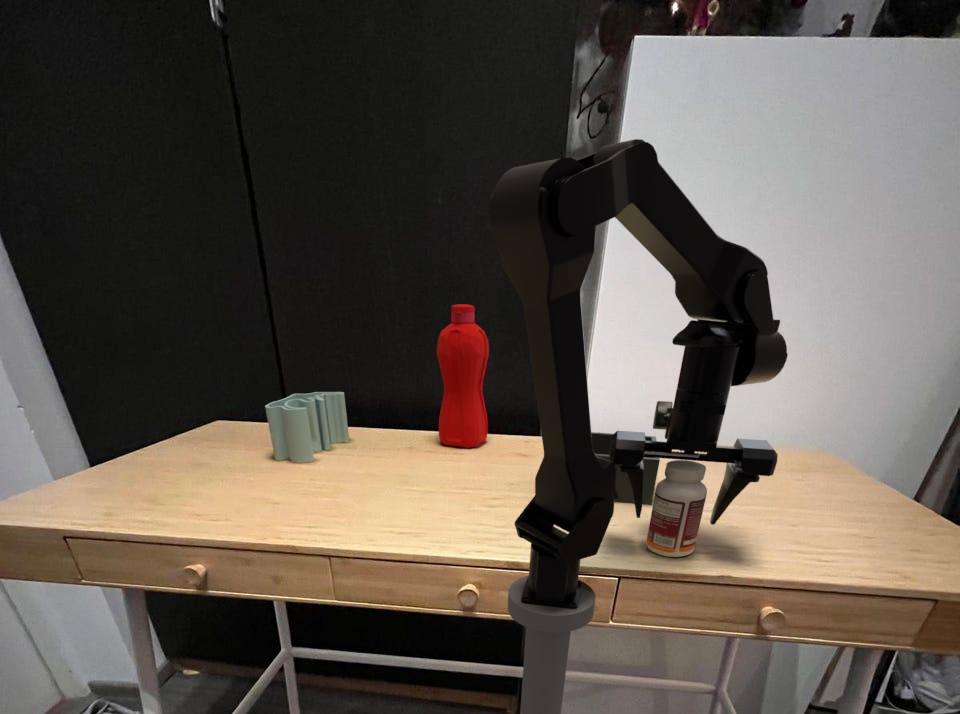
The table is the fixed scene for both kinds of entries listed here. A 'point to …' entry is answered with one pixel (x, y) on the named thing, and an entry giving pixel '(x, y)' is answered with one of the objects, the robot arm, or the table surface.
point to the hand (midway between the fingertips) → (674, 520)
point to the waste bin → (622, 483)
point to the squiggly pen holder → (306, 424)
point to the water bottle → (463, 379)
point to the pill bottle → (677, 509)
